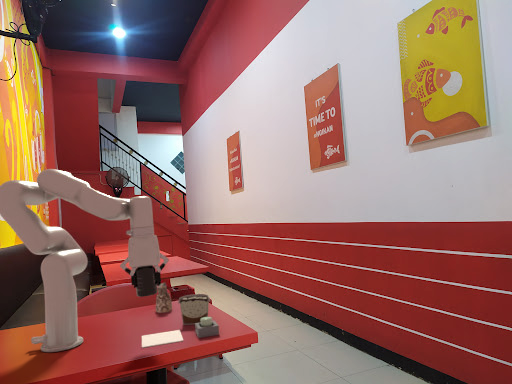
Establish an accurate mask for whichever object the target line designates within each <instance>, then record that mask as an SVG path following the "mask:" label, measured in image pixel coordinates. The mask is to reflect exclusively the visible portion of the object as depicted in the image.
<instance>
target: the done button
mask: <svg viewBox="0 0 512 384" xmlns="http://www.w3.org/2000/svg"><path fill="white" fill-rule="evenodd" d="M200 321H201V327H206V326H212V321H213V317H212V316H208V317H203V318H201V319H200Z"/></svg>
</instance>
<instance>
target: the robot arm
mask: <svg viewBox="0 0 512 384" xmlns="http://www.w3.org/2000/svg"><path fill="white" fill-rule="evenodd" d="M58 199H62V200H63V201H66V202H69V203H71V204H73V205H75V206H76V207H78V208H80V210H83V211H84V212H87V213H89V214H91V215H93V216H96V217H98V218H100V219H103V220H106V221H125V220H128V219H129V222H130V223H129V225H130V229H129V230H126V235H127V236H130V237H129V239H128V242H127V243H128V247H127V251H128V252H127V255H128V256H127V257H126V258H125V259H124V261H122V262H121V263H120V265H119V267H120V268H121V269H122V270H123V271H124V272H126V274H128V275H129V276H130V279H131V281H130V282H131V286H133V288H134V289H136V277H135V270H136V268H138V267H146V266H154V267H155V269H156V280H157V285H160V282H161V281H162V278H161V277H162V275H161V272H162V271H163V269H165V267H166V265H167V264H168V262H170V259H169V257H167V256H165V255H164V254H163V253H161V251H160V245H159V244H160V243H159V239H158V236H157V234H155V227H154V218H153V217H154V216H153V215H154V214H153V213H154V212H153V202H152V199H151V197H150V196H147V195H146V196H145V195H143V196H135V197H133V196H132V197H130V198H121V197H113V196H110V195H107V194H105V193H103V192H100V191H99V190H95V189H94V188H92V187H91V185H90V183H88V182H87V181H84V180H82V179H80V178H77V177H74V175H72V173H71V172H68V171H65V170H64V171H63V170H59V169H54V168H47V169H44V170H41V172H39V174H37V177H36V182H34V181H30V180H29V181H27V180H21V179H19V180H18V179H12V180H11V179H10V180H8V181H5V182H3V183H2V184H1V185H0V216H1V218H2V219H3V220H4V221H5V222H6V223H7V224H8V226H10V228H11V229H12V230H13V231H14V233H15V235H16V236H17V237H18V238H19V240H21V241H22V243H23V245H24V246H25V247H26V248H27V250H29V252H30V253H32V254H34V255H39V256H41V255H43V256H44V255H46V256H45V257H44V259H43V260H42V262H41V265H40V274H41V278H42V283H43V291H44V310H45V311H44V314H45V315H44V316H45V318H44V319H45V334H43V335H42V336H32V337H31V340H30V341H31V342H30V343H31V344H33V345H38V344H41V345H40V351H41V352H43V353H55V352H56V353H57V352H61V351H66V350H67V351H68V350H70V349H73V348H76V347H78V346H79V345H82V343H83V342H84V337H82V336H80V335H79V329H78V326H79V325H78V322H79V321H78V298H77V295H78V294H77V287H76V282H75V280H74V277H75V276H76V275H77V276H78V275H79V274H81V273H83V272H84V271H85V270H86V268H87V266H88V263H89V262H88V257H87V254H86V253H85V251H84V249H83V248H82V247H81V246H80V245H79V243H78V242H77V240H76V239H74V238H73V236H72V235H71V234H70V233H69V232H68V231H67V230H66V229H65V228H62V227H59V226H49V225H46V224H45V223H44V222H43V221H42V220H41V218H40V216H38V215H37V213H36V212H35V211H33V209H31V208H29V207H28V206H40V205H43V204H46V203H49V202H51V201H54V200H58ZM161 260H163V261H162V262H161ZM160 263H161V264H160ZM127 264H128V266H129V267H130V268H131V269H130V268H129V267H127V266H126V265H127ZM159 264H160V265H159Z"/></svg>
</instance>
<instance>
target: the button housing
mask: <svg viewBox="0 0 512 384" xmlns="http://www.w3.org/2000/svg"><path fill="white" fill-rule="evenodd" d="M194 327H195V331H194V332H195V334H196V336H197V338H198V339H200V338H201V339H202V338H207V337H212V336H218V335H220V329H219V328H220V325H219V324H218V323H217V322H216V320H215V319H214V320H213V319H212V326H206V327H201V322H200V323H195V324H194Z"/></svg>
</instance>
